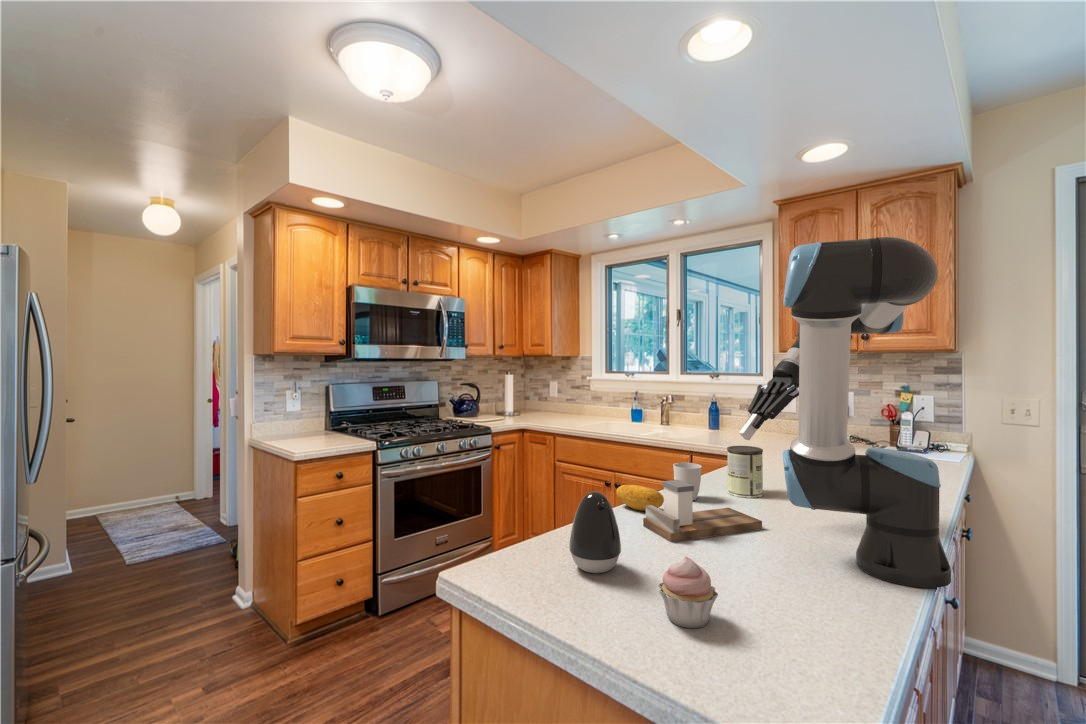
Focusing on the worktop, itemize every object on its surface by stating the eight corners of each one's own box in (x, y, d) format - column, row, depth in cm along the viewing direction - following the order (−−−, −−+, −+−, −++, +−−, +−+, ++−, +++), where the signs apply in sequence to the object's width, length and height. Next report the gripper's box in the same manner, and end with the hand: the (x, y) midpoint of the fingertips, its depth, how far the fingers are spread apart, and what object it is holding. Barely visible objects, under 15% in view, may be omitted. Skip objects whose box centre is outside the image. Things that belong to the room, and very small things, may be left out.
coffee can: (730, 488, 163) (730, 444, 163) (765, 492, 158) (765, 447, 158) (723, 495, 154) (723, 449, 154) (759, 500, 149) (759, 452, 149)
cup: (698, 495, 154) (698, 462, 154) (704, 503, 146) (704, 468, 146) (671, 494, 155) (671, 462, 155) (675, 502, 147) (675, 468, 147)
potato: (652, 517, 133) (652, 492, 132) (611, 507, 142) (611, 483, 142) (669, 511, 138) (669, 486, 138) (628, 501, 148) (628, 478, 148)
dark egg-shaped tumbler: (579, 582, 94) (579, 500, 94) (563, 561, 104) (562, 487, 104) (630, 576, 97) (630, 496, 97) (608, 555, 107) (608, 484, 107)
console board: (728, 515, 135) (728, 496, 135) (762, 529, 123) (762, 508, 123) (643, 525, 126) (643, 505, 126) (670, 542, 115) (670, 520, 115)
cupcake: (681, 599, 87) (681, 541, 87) (729, 621, 80) (729, 558, 80) (644, 615, 82) (644, 554, 82) (693, 641, 74) (692, 573, 74)
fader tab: (678, 516, 126) (678, 479, 126) (694, 524, 120) (694, 485, 120) (662, 518, 125) (662, 481, 124) (677, 526, 118) (677, 487, 118)
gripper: (822, 379, 129) (772, 449, 123) (782, 378, 141) (735, 442, 135) (805, 358, 127) (753, 429, 121) (766, 359, 139) (718, 424, 134)
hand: (744, 436), depth 128 cm, fingers closed
